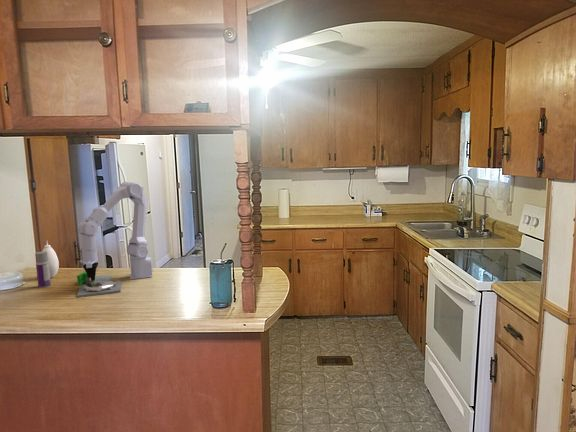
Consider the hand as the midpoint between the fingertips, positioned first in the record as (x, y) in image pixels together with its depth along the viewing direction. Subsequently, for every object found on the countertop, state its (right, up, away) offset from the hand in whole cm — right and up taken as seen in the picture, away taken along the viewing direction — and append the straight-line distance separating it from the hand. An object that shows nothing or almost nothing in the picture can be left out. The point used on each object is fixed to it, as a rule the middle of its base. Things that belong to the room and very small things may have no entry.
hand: (92, 280), depth 174 cm
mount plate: (+5, -3, -3) cm, 7 cm away
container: (-22, -3, +4) cm, 23 cm away
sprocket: (+5, -3, -3) cm, 7 cm away
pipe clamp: (-6, -2, +9) cm, 11 cm away
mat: (0, -2, +11) cm, 11 cm away
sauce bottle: (-28, -1, +17) cm, 33 cm away
